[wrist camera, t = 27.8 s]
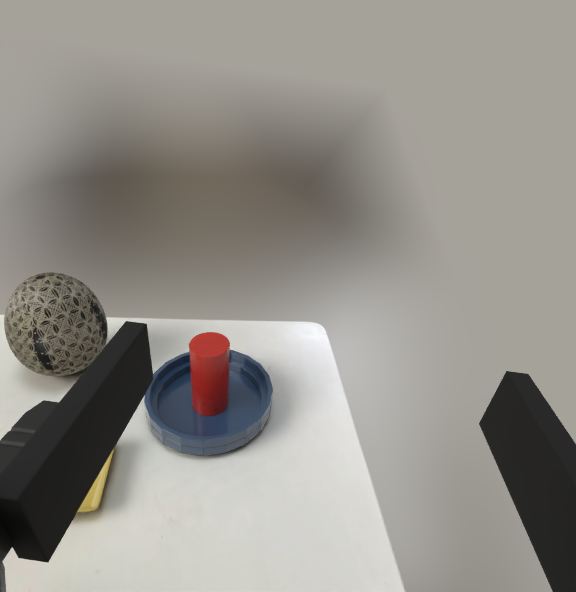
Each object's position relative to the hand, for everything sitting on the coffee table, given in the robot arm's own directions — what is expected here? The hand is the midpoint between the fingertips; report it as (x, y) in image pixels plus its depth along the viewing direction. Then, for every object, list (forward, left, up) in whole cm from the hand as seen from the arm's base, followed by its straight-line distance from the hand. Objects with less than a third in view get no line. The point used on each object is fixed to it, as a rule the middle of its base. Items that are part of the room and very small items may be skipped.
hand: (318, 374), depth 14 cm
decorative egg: (+33, -29, -30) cm, 53 cm away
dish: (+11, -25, -30) cm, 40 cm away
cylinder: (+11, -25, -29) cm, 40 cm away
